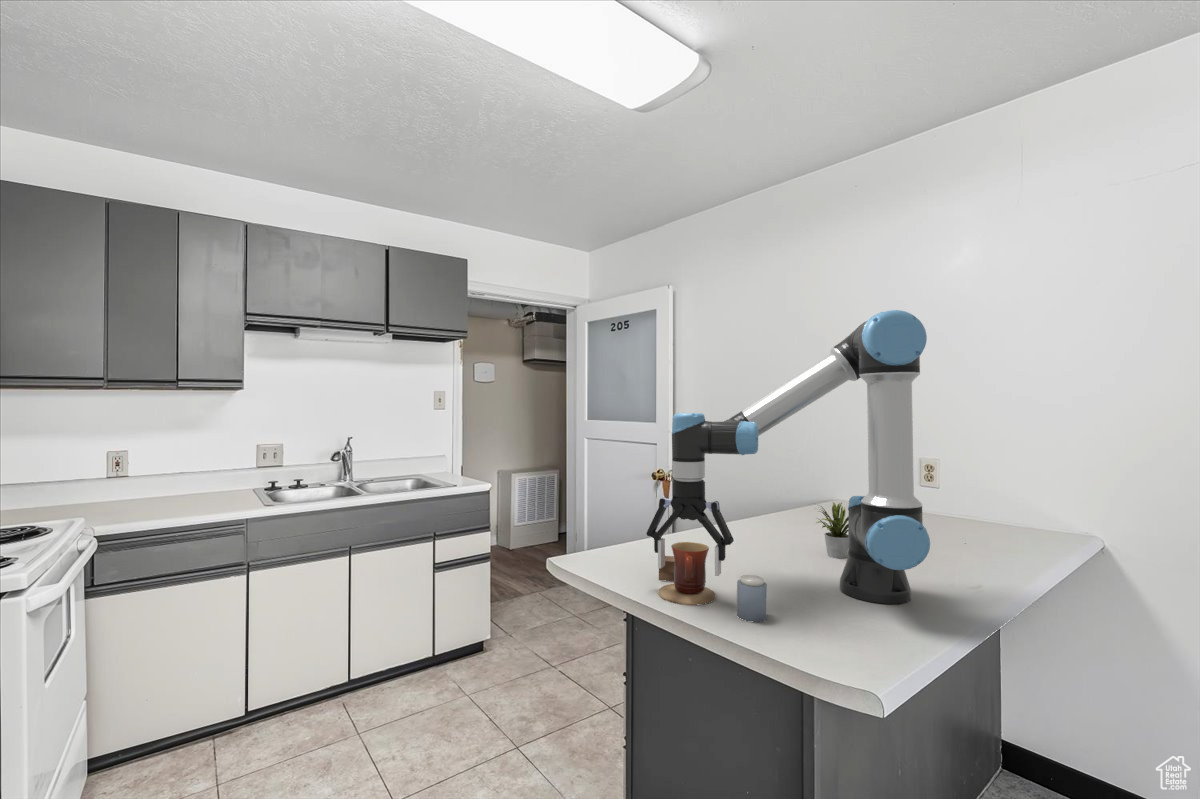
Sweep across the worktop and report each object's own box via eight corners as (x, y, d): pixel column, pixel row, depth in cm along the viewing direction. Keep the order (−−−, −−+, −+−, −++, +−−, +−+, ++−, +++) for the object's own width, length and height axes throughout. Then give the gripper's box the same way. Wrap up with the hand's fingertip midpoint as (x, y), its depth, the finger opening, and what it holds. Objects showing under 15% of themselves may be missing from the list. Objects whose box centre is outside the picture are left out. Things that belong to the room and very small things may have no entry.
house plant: (804, 547, 174) (804, 495, 174) (850, 549, 172) (851, 497, 172) (815, 560, 160) (816, 503, 160) (866, 562, 158) (867, 505, 158)
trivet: (721, 591, 132) (721, 588, 132) (706, 609, 120) (706, 606, 120) (669, 582, 138) (669, 580, 138) (650, 598, 126) (650, 596, 126)
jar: (768, 614, 118) (769, 576, 118) (763, 624, 112) (764, 584, 113) (740, 609, 121) (740, 572, 121) (733, 618, 115) (734, 580, 115)
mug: (672, 582, 136) (672, 540, 136) (708, 585, 134) (709, 543, 134) (668, 599, 124) (668, 554, 124) (708, 603, 122) (708, 556, 122)
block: (678, 575, 144) (678, 556, 144) (678, 581, 139) (678, 561, 139) (659, 574, 144) (659, 555, 144) (658, 580, 139) (658, 560, 139)
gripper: (746, 480, 127) (746, 573, 127) (644, 474, 138) (645, 559, 138) (738, 484, 120) (739, 582, 120) (632, 478, 131) (633, 567, 131)
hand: (689, 570), depth 129 cm, fingers open, 13 cm apart
